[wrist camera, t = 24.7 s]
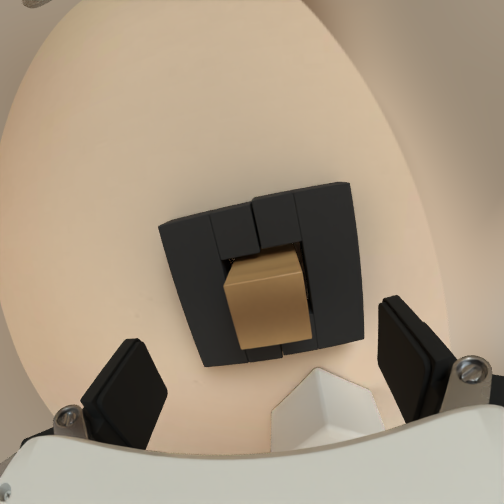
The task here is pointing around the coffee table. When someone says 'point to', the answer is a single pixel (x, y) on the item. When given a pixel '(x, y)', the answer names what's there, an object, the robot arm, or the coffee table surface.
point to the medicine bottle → (323, 413)
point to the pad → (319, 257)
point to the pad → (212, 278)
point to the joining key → (268, 298)
